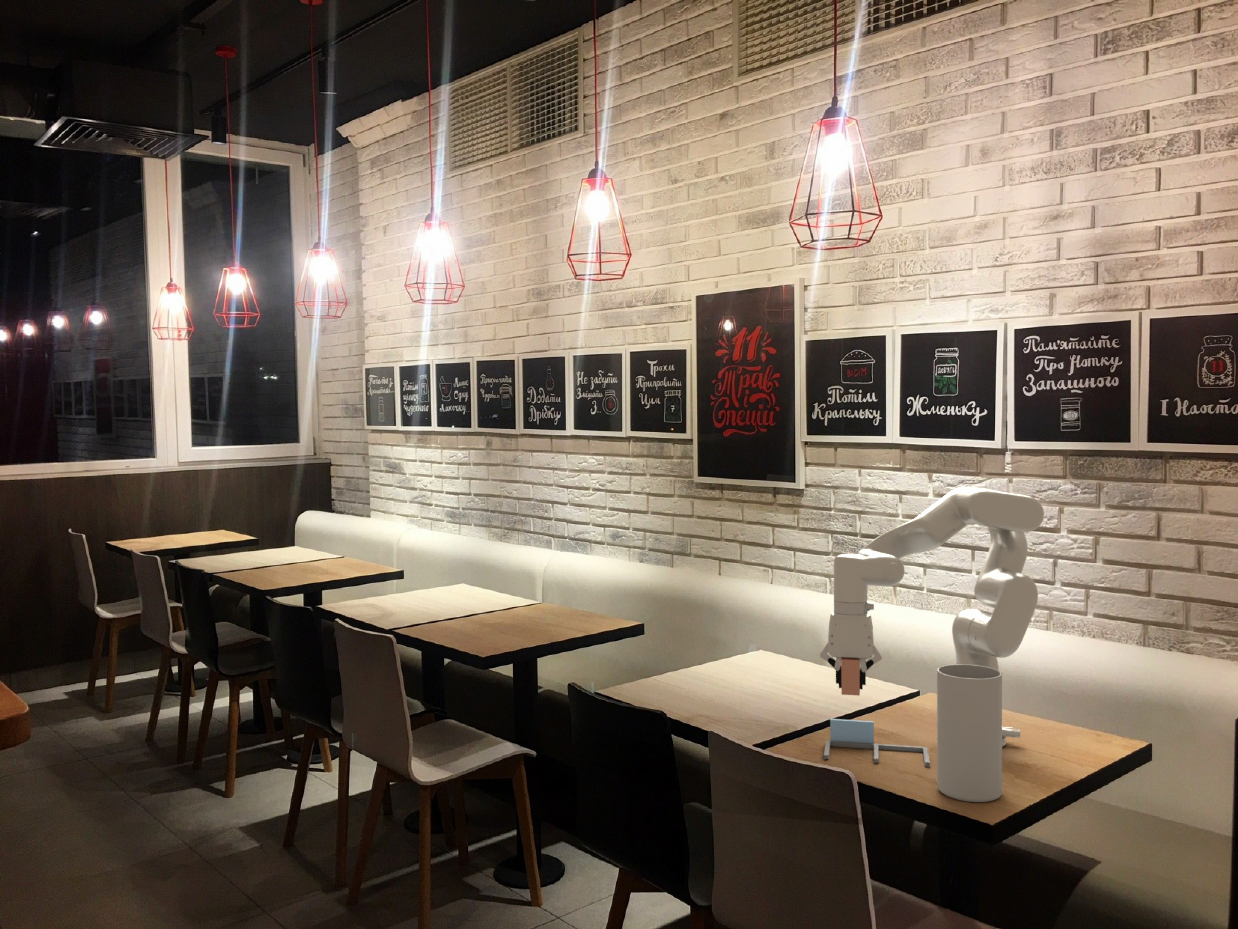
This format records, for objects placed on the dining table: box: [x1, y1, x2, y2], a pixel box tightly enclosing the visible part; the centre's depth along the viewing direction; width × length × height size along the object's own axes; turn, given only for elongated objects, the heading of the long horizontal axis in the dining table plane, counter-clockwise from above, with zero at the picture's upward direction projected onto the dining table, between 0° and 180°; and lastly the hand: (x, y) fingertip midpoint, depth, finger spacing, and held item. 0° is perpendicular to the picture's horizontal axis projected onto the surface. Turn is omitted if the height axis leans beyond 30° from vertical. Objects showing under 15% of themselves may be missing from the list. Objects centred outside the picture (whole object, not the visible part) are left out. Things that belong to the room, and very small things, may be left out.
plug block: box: [840, 658, 861, 697], centre depth 223 cm, size 4×5×8 cm
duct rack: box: [823, 718, 931, 768], centre depth 223 cm, size 23×12×6 cm, turn 75°
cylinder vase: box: [936, 663, 1003, 803], centre depth 199 cm, size 12×12×25 cm
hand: (850, 686), depth 223 cm, fingers closed on plug block, 4 cm apart
